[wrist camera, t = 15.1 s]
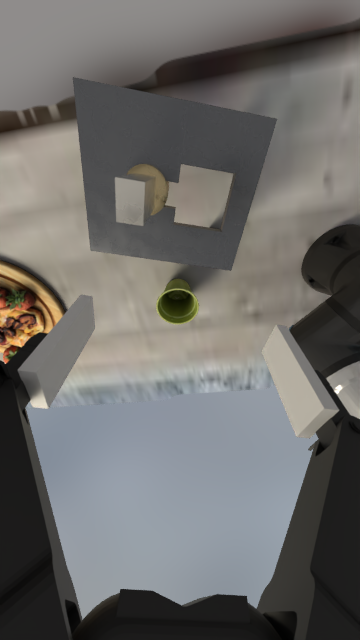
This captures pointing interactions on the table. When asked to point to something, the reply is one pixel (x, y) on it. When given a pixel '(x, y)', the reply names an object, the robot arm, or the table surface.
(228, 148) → the shelf
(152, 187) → the brass hanging weight
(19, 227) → the table surface
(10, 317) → the wooden plate with food
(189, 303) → the plant pot
